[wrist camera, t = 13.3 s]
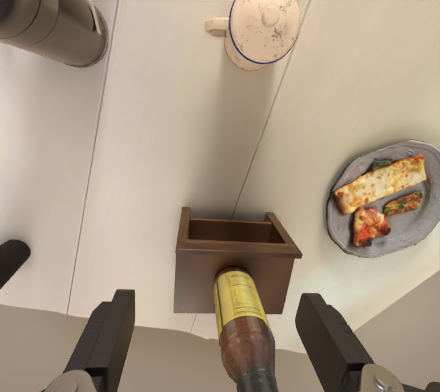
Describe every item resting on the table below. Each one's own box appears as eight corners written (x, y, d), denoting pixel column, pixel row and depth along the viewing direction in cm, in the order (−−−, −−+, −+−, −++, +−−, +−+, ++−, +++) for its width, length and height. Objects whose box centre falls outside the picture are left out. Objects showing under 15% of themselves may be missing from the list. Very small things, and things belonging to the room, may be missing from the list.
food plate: (331, 265, 56) (340, 275, 52) (311, 168, 48) (319, 172, 44) (441, 228, 55) (457, 236, 51) (440, 124, 47) (458, 125, 43)
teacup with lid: (283, 9, 39) (317, -30, 28) (275, 74, 42) (303, 63, 31) (205, 0, 37) (208, -44, 26) (202, 68, 40) (204, 54, 29)
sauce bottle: (237, 303, 40) (270, 470, 22) (204, 286, 39) (210, 452, 20) (261, 273, 39) (319, 427, 20) (228, 255, 37) (259, 404, 19)
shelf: (179, 264, 52) (172, 323, 38) (182, 207, 48) (175, 248, 34) (263, 267, 54) (286, 324, 40) (273, 212, 50) (302, 254, 36)
